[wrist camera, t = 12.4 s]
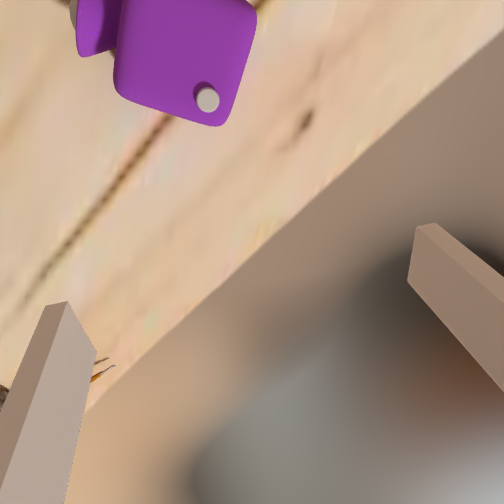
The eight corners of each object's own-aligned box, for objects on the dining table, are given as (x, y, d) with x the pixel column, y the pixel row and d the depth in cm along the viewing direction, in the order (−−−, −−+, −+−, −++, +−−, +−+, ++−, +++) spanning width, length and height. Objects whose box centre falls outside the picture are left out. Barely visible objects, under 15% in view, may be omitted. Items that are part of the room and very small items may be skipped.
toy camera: (77, -54, 28) (40, -81, 20) (245, -18, 32) (270, -28, 23) (89, 91, 34) (63, 116, 26) (230, 109, 37) (246, 136, 29)
